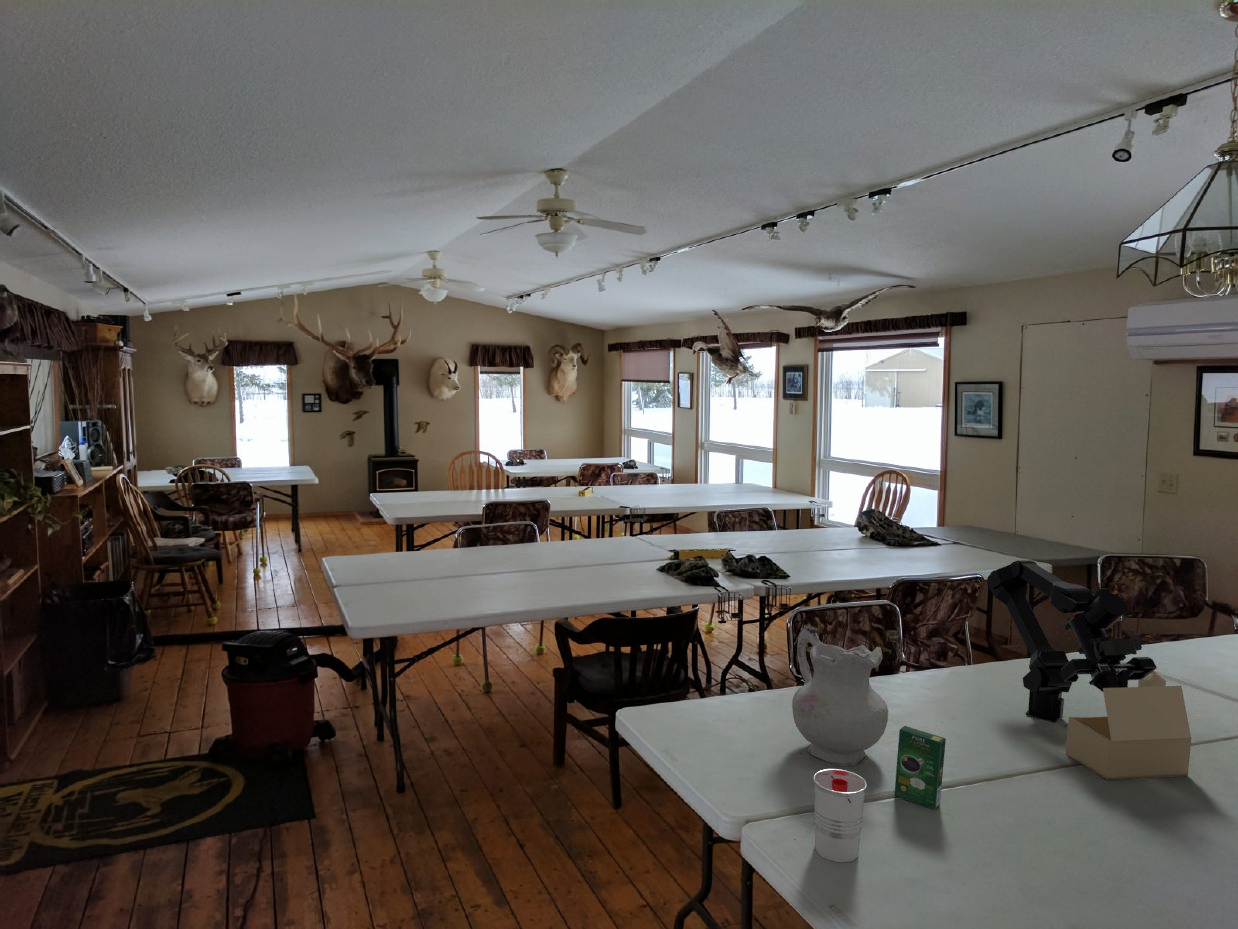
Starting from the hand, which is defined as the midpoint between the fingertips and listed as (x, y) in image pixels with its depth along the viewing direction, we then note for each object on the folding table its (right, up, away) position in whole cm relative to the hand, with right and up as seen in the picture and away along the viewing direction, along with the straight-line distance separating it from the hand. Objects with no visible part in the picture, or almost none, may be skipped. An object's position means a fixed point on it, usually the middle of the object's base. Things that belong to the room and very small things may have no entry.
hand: (1126, 708), depth 174 cm
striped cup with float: (-68, -14, -35) cm, 78 cm away
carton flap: (+1, 0, -5) cm, 5 cm away
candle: (+23, -10, +29) cm, 38 cm away
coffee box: (-49, -12, -17) cm, 53 cm away
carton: (0, -12, 0) cm, 12 cm away
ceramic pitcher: (-59, -10, +4) cm, 60 cm away
